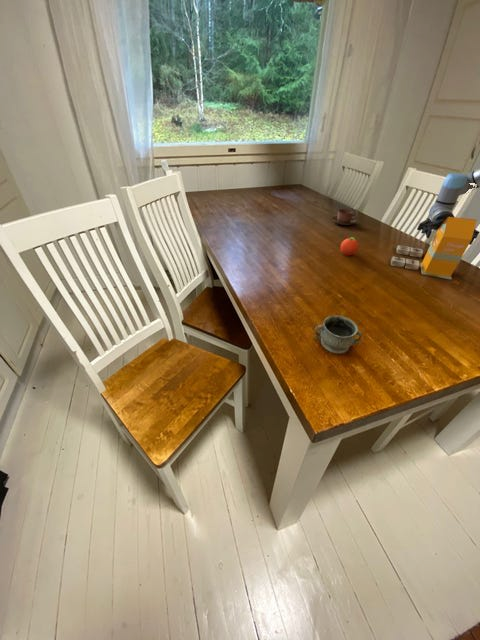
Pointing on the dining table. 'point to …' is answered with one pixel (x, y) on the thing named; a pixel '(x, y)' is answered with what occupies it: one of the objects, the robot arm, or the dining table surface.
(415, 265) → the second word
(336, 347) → the vessel
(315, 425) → the dining table surface
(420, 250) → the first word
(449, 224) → the orange juice
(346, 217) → the cup and saucer
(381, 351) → the dining table surface
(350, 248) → the tomato
